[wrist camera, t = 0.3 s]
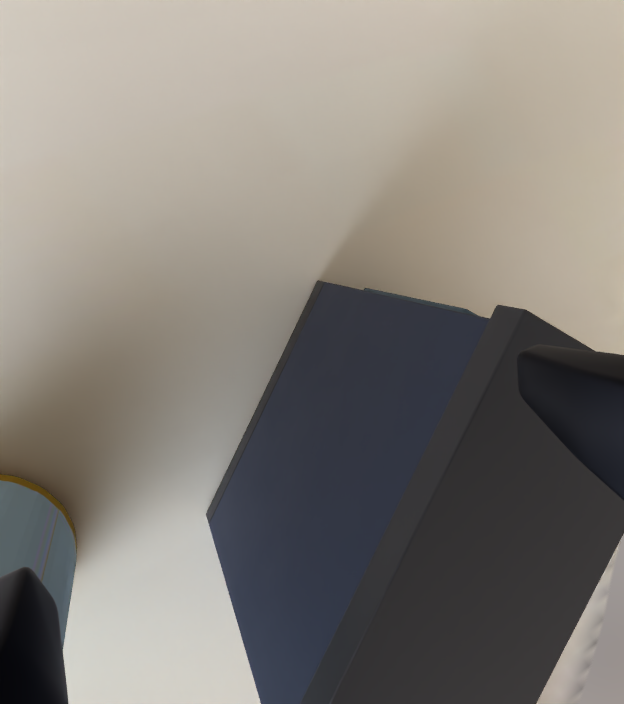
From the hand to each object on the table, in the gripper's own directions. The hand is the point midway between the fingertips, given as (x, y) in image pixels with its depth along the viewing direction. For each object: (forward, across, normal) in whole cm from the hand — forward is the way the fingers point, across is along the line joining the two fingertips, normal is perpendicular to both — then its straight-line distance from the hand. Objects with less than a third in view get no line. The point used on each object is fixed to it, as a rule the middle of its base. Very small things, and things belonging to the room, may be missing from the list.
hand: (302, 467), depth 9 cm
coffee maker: (+13, -8, +15) cm, 21 cm away
